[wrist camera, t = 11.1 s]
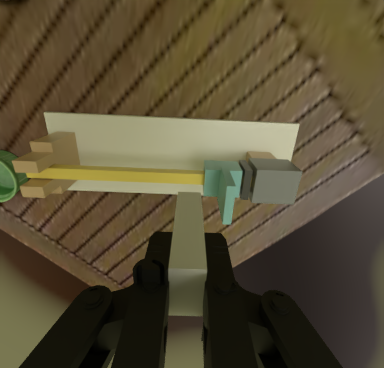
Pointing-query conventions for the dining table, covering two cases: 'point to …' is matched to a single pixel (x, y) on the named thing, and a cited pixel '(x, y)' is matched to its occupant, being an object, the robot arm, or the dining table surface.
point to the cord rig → (158, 155)
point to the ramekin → (9, 176)
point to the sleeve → (223, 185)
